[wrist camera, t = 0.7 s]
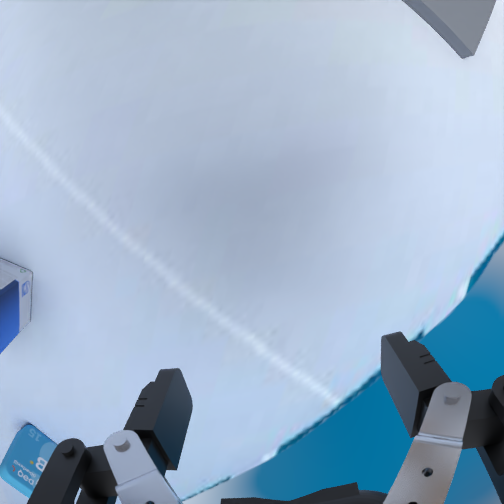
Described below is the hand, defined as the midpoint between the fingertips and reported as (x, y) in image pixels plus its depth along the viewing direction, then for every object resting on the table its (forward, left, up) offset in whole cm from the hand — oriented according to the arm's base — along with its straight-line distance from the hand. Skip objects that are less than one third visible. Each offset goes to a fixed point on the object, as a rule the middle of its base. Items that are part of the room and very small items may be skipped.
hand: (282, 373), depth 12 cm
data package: (-9, -49, -22) cm, 54 cm away
